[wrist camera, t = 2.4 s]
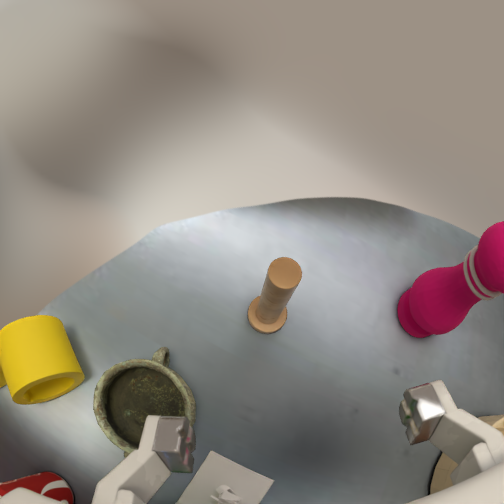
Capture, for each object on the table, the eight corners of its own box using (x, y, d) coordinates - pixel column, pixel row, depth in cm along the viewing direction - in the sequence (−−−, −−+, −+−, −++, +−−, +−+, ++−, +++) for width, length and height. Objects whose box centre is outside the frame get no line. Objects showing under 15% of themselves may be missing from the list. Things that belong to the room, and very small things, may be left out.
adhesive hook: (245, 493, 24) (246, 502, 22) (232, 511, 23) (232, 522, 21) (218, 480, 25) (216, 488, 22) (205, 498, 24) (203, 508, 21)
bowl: (493, 511, 21) (520, 516, 16) (412, 529, 22) (439, 543, 16) (515, 414, 28) (544, 410, 22) (442, 417, 28) (474, 415, 23)
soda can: (57, 464, 23) (-8, 480, 13) (84, 503, 22) (28, 535, 11) (31, 478, 22) (-34, 493, 11) (56, 515, 20) (-1, 543, 9)
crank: (29, 306, 22) (50, 368, 20) (76, 325, 30) (98, 374, 28) (-57, 380, 19) (-42, 430, 17) (-11, 387, 27) (5, 429, 25)
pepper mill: (446, 301, 35) (559, 224, 17) (431, 351, 32) (562, 295, 14) (404, 274, 36) (508, 177, 18) (384, 325, 33) (508, 246, 15)
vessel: (183, 471, 25) (173, 488, 20) (103, 441, 26) (77, 448, 20) (213, 364, 30) (209, 357, 25) (133, 338, 31) (113, 325, 25)
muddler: (281, 337, 32) (308, 305, 21) (243, 328, 32) (250, 292, 21) (288, 301, 34) (316, 254, 23) (252, 293, 34) (263, 241, 23)
